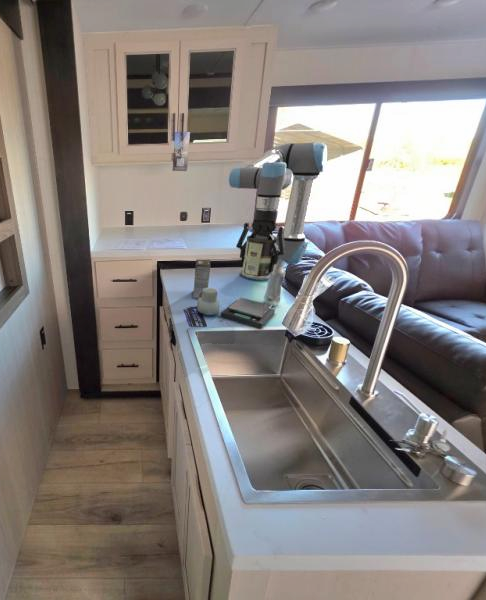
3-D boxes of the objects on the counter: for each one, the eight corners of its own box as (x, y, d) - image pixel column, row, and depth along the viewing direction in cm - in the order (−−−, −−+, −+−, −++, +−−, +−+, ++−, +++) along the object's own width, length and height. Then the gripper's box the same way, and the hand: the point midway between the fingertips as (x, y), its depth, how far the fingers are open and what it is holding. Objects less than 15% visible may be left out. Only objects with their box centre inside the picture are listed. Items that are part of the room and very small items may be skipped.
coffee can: (268, 271, 124) (275, 235, 119) (270, 279, 116) (278, 241, 110) (241, 268, 128) (246, 234, 122) (241, 276, 119) (247, 239, 113)
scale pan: (240, 299, 136) (240, 297, 136) (271, 307, 128) (271, 305, 128) (228, 309, 127) (228, 307, 126) (260, 318, 119) (261, 316, 119)
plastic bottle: (272, 308, 133) (281, 263, 125) (259, 303, 139) (267, 259, 131) (282, 305, 136) (292, 261, 128) (269, 300, 141) (277, 257, 133)
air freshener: (219, 318, 125) (222, 295, 121) (197, 317, 126) (200, 294, 122) (216, 307, 135) (219, 285, 131) (196, 306, 136) (198, 284, 132)
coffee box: (193, 291, 152) (196, 258, 145) (206, 291, 151) (210, 259, 144) (192, 298, 143) (195, 264, 137) (207, 299, 142) (210, 265, 136)
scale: (236, 303, 138) (236, 298, 137) (274, 314, 129) (275, 308, 128) (220, 316, 127) (221, 311, 126) (261, 328, 117) (262, 323, 116)
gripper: (232, 207, 116) (224, 265, 125) (298, 213, 103) (285, 277, 111) (239, 205, 121) (232, 261, 130) (304, 210, 108) (290, 272, 117)
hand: (256, 268), depth 121 cm, fingers closed on coffee can, 10 cm apart
